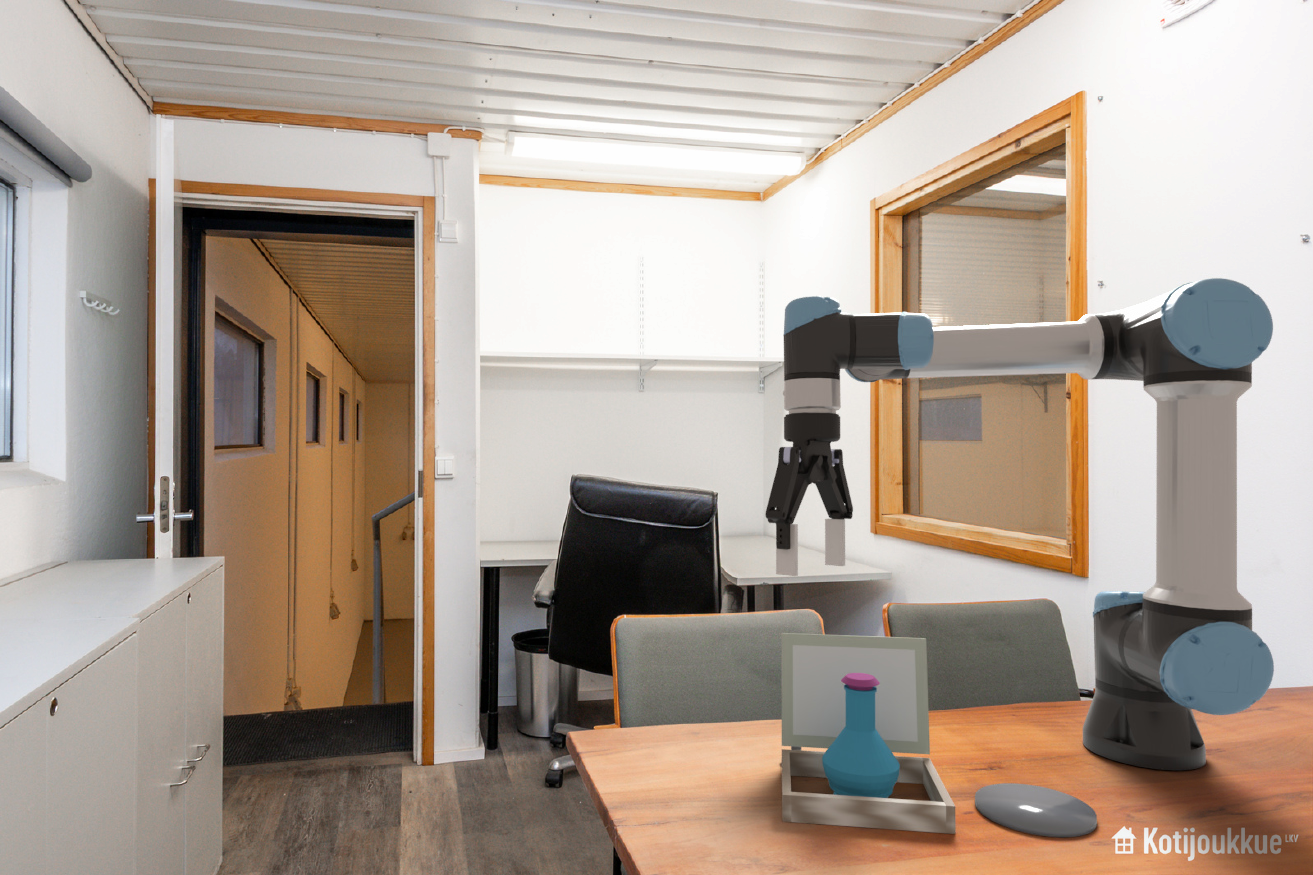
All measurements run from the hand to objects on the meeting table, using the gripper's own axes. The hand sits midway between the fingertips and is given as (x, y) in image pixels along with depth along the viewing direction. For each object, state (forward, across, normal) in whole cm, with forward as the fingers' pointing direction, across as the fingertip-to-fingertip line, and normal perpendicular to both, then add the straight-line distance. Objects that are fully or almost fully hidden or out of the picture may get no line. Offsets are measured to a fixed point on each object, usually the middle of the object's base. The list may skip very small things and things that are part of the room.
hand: (812, 570), depth 106 cm
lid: (+16, -3, +5) cm, 17 cm away
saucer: (+27, -6, +26) cm, 38 cm away
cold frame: (+27, +4, +9) cm, 28 cm away
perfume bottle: (+27, +4, +9) cm, 29 cm away
